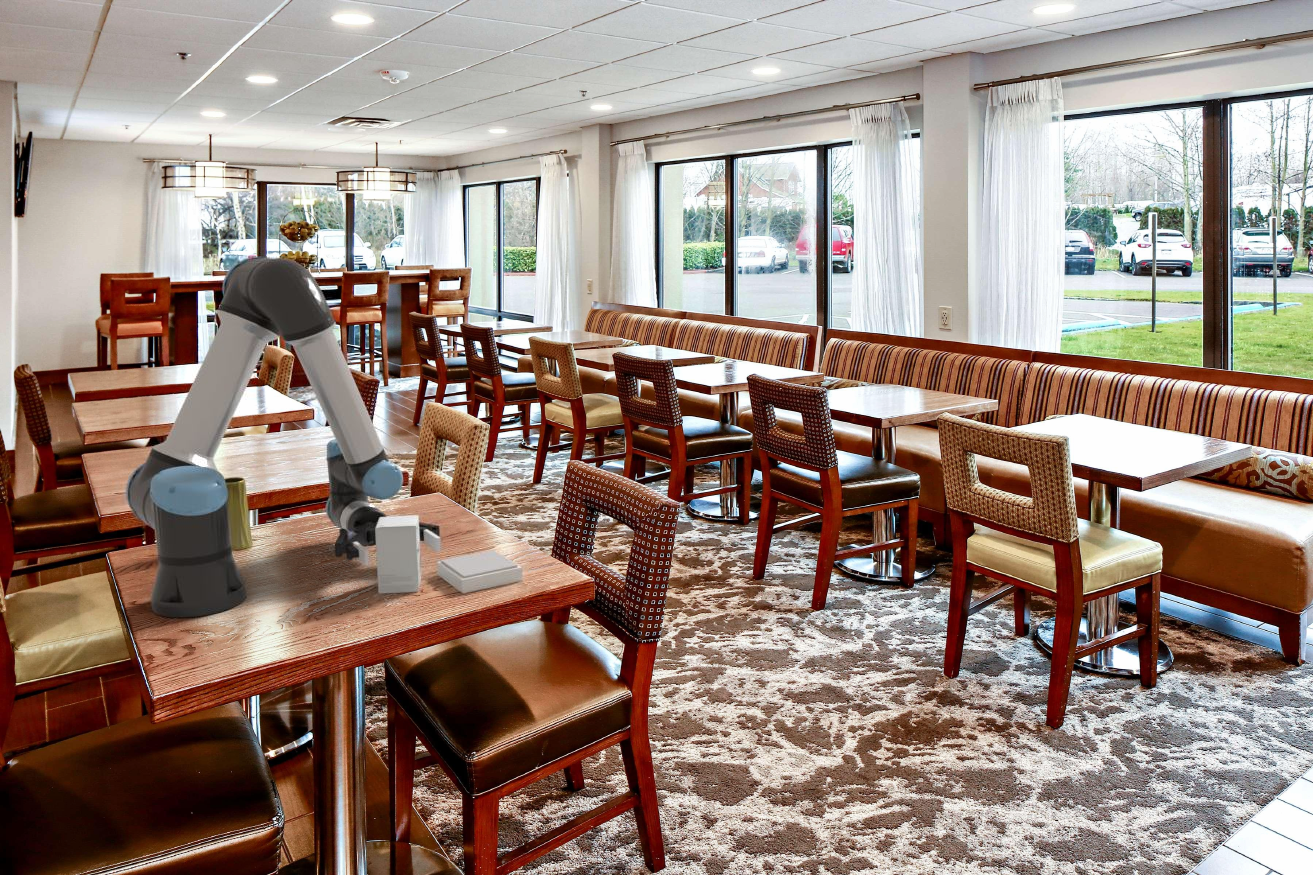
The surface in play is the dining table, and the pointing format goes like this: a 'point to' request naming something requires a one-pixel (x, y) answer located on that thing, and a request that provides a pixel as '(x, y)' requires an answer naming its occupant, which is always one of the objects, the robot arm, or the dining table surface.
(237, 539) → the vase
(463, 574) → the pedestal
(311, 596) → the dining table surface
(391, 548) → the supplement box
